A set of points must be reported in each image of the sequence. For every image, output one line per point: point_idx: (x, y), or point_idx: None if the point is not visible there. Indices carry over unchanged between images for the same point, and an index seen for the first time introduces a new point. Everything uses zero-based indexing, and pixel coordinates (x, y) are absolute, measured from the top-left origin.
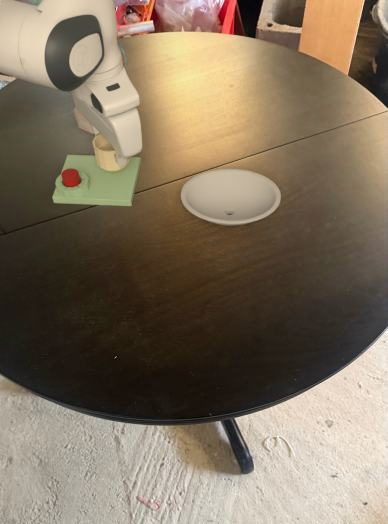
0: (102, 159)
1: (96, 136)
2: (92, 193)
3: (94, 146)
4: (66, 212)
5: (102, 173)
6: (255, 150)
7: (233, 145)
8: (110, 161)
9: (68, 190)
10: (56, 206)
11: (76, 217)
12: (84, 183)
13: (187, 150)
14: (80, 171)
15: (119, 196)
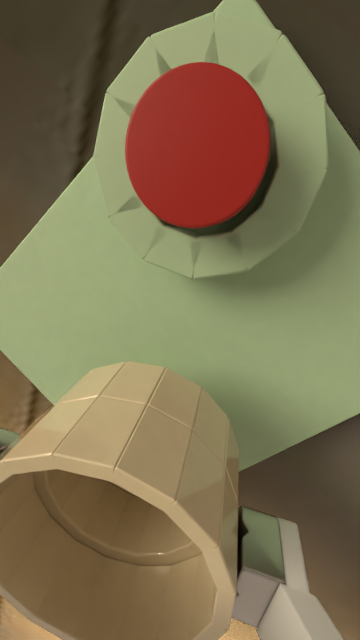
0: (69, 404)
1: (222, 576)
2: (95, 220)
3: (112, 473)
4: (124, 33)
5: (187, 357)
6: (7, 636)
7: (51, 636)
8: (36, 420)
9: (131, 72)
10: (207, 8)
11: (59, 59)
12: (120, 211)
13: None
14: (233, 269)
15: (5, 298)
